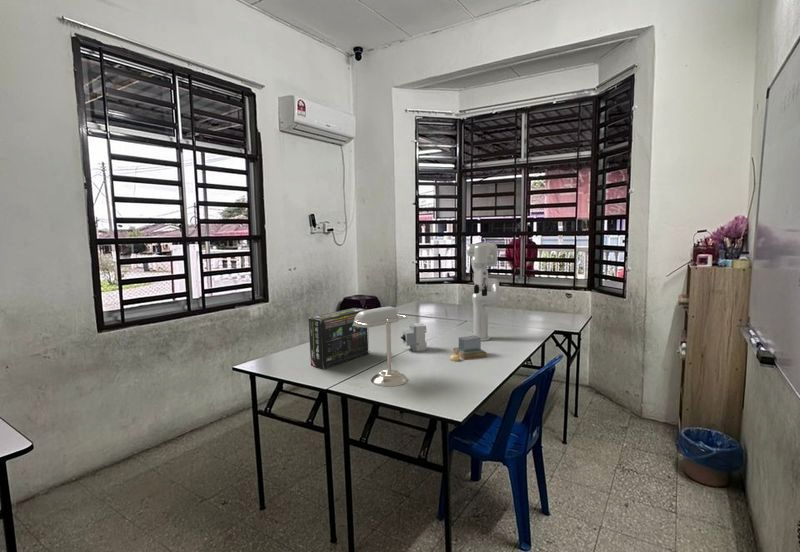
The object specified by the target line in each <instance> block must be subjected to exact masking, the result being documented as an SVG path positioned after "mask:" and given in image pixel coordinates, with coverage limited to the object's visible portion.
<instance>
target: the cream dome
mask: <svg viewBox="0 0 800 552" xmlns="http://www.w3.org/2000/svg"><path fill="white" fill-rule="evenodd" d="M449 357H450V359H449V360H450V361H451V362H459V361H460V357H459V355H456V354H450V356H449Z"/></svg>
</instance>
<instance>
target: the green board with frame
mask: <svg viewBox="0 0 800 552" xmlns="http://www.w3.org/2000/svg"><path fill="white" fill-rule="evenodd" d="M452 349H453V350H452V351H453V352H452V353H454V355H459V358H461V359H463V360H471V359H473V360H474V359H480V358H487V352H486V351H485V350H483V349H481V350H475V351H468V352H463V351H461V350H459V346H458V347H453V348H452Z"/></svg>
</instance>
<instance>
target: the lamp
mask: <svg viewBox="0 0 800 552" xmlns="http://www.w3.org/2000/svg"><path fill="white" fill-rule="evenodd" d="M408 318H409V317H408V316H407V315H403V314H399V313H398V310H397V309H396V308H395V307H393V306H383V307H377V308H372V309H367V310H365V311H361V312H359V313H358V314H357V315H356V317H355V320H354V324H353V326H357V327H363V328H367V332H368V352H369V353H370V352H371V350H370V344H369V342H370V340H369V337H370V335H369V333H370V332H369V329H370V328H375V327H379V326H383V325H386V369H383V370H381V371H379V372H378V373H376V374H375V375H373V376H372V377H371V378H370V382H371V383H372V384H373V385H377V386H380V387H397V386H401V385H404V384H406V383H407V382H408V381H409V378H408V376H406V375H405V374H404V373H401V372H400V371H398V370H397V369H392V336H391V332H392V330H391V329H392V327H391V324H392V323H397V322H399V321H402V320H406V319H408Z"/></svg>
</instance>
